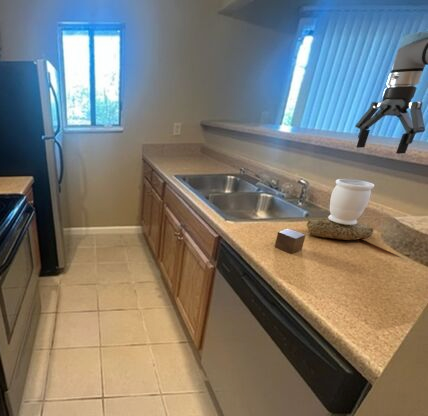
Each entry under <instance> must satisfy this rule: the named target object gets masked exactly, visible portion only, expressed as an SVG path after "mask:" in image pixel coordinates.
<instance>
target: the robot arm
mask: <svg viewBox="0 0 428 416" xmlns="http://www.w3.org/2000/svg"><path fill="white" fill-rule="evenodd" d="M426 65H427V66H428V30H427V31H417V32H412V33H409V34H405V35H404V36H403V37H402V38H401V41H400V43H399V46H398V48H397V50H396V54H395V57H394V61H393V64H392V66H391V70H390V73H389V75H388V79H387V82H386V86H387V87H386V88H384V91H383V93H382V97H381V98H382V101H372V102H371V104H370V106H369V108H368V109H367V110H366V112H365V113H364V114H363V116H362V117H361V118H360V119H359V120H358V121H357V122H356V124H355V125H354V127H355V128H358V129H359V132H358V135H357V139H358V141H357V143H356V148H357V149H359V148H365V146H366V144H367V141H368V137H369V135H370V131H371V130H370V128H371V127H372V126H373V125H375V124H376V123H377V122H378V121H379V120H381V119H382V118H384V117H387V116H388V117H389V116H390V117H397V118H398V119H399V121H400V123H401V125H402V127H403V129H404V131H405V132H404V133H402V135H401V139H400V141H399V144H398V147H397V149H396V152H395V154H399V155H400V154H401V155H402V154H406V152H407V150H408V147H409V145H411V144H413V141H414V139H415V136H416V134H419V133H424V132H425V131H426V128H425V121H424V116H423V112H422V107H423V103H424V102H422V101H413V102H412V99H413V98H414V97H415V95H416V92H417V89H418V88H417V86H418V85H419V84H420V81H421V78H422V76H423V72H424V70H425V68H426ZM408 109H410V110H409V111H410V112H409V111H408Z"/></svg>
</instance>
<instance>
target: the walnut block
mask: <svg viewBox="0 0 428 416" xmlns="http://www.w3.org/2000/svg"><path fill="white" fill-rule="evenodd" d="M306 236H307V235H306V234H304V233H302V232H299V231H296V230H294V229H291V228H285V229H281V230H280V231H277V234H276V239H275V243H274V248H276V249H278V250H280V251H283V252H285V253H287V254H290V255H293V254H296V253H298V252H300V251H302V250H303V247H304V244H305V240H306Z"/></svg>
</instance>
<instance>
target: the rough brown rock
mask: <svg viewBox="0 0 428 416" xmlns="http://www.w3.org/2000/svg"><path fill="white" fill-rule="evenodd" d="M306 227H307V233H308V235H310V236H314V237H319V238H320V237H321V238H329V239H336V240H342V241H343V240H344V241H350V240H352V241H353V240H354V241H355V240H356V241H357V240H359V239H364V238H369V237H370V236H373V233H374V228H373V227H371V226H370V225H368V224H365V223H362V222H358V221H357V224H355V225H345V224H340V223H336V222H333V221H331V220H329V219H323V218H322V219H308V220H307V222H306Z"/></svg>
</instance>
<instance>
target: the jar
mask: <svg viewBox="0 0 428 416" xmlns="http://www.w3.org/2000/svg"><path fill="white" fill-rule="evenodd" d="M334 183H335V184H336V185H335V186H334V187H333V190H332V192H331V195H330V199H329V213H330V214H329V215H328V216H327V218H328V219H327V220H331V221H333V222H336V223H340V224H345V225H355V224H357V222H358V219H359V218H360V217H361V216H362V215H363V213H364V211H365V209H366V208H367V206H369V205H368V204H369V202H370V199H371V193H372V191H371V190H372V189H374V188H375V184H374V183H372V182H370V181H365V180H360V179H353V178H338V179H336V180H335V182H334Z"/></svg>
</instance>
